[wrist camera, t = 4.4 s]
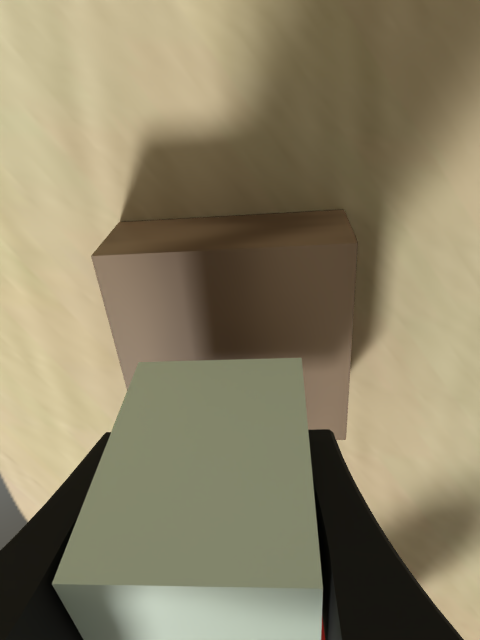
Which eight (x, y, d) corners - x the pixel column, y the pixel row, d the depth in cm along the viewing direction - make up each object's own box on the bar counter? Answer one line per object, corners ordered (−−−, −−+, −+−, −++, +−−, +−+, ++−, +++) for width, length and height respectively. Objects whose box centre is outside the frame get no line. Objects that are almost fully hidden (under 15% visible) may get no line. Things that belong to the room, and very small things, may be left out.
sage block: (301, 357, 12) (322, 588, 7) (302, 468, 15) (318, 699, 10) (138, 362, 13) (51, 584, 8) (165, 469, 15) (112, 691, 10)
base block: (343, 209, 16) (358, 242, 13) (336, 388, 20) (345, 439, 17) (119, 222, 16) (91, 256, 14) (157, 391, 21) (141, 441, 18)
